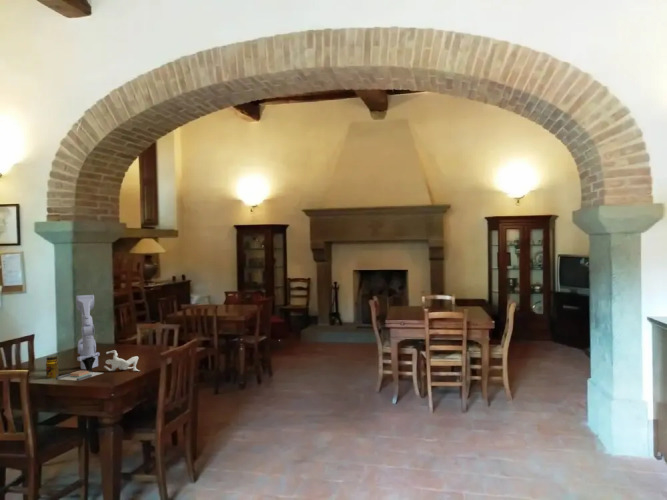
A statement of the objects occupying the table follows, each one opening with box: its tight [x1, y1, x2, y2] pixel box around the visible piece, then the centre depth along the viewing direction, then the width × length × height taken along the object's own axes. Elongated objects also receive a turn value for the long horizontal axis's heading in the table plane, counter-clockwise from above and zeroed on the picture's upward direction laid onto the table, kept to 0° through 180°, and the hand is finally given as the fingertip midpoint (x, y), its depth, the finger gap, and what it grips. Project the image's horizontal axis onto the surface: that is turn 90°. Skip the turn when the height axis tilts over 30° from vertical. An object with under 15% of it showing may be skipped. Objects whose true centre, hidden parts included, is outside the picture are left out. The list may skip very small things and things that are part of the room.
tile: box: [70, 369, 90, 377], centre depth 293 cm, size 2×6×7 cm
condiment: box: [45, 355, 60, 380], centre depth 291 cm, size 7×8×12 cm
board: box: [55, 371, 103, 382], centre depth 292 cm, size 18×16×2 cm
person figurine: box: [103, 349, 140, 372], centre depth 303 cm, size 13×13×18 cm
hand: (89, 371), depth 299 cm, fingers closed
